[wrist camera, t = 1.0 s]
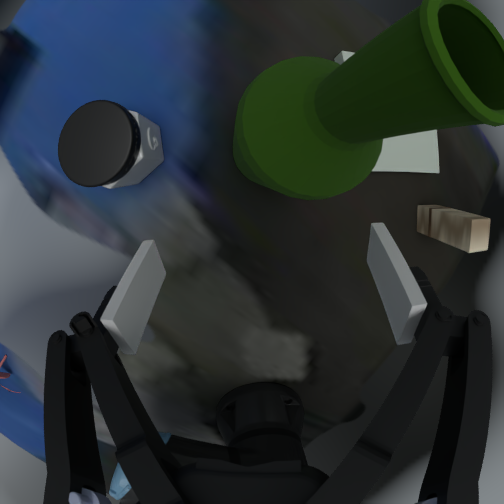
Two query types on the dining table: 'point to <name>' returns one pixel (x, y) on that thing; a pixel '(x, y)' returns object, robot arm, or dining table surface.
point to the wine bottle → (369, 100)
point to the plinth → (405, 147)
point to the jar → (109, 146)
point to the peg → (454, 227)
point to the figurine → (5, 375)
